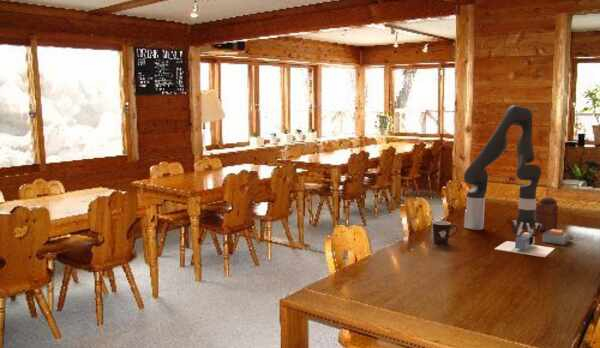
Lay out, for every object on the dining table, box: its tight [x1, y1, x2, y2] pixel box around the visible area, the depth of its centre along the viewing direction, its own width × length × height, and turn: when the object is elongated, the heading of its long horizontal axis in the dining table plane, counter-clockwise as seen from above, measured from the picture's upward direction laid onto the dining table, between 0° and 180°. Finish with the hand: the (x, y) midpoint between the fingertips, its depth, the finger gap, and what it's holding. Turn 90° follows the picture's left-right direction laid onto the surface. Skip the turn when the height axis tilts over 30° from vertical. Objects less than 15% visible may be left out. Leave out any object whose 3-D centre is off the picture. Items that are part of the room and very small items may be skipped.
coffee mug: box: [431, 220, 459, 246], centre depth 264 cm, size 12×9×10 cm
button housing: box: [541, 230, 571, 246], centre depth 268 cm, size 10×10×4 cm
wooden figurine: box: [534, 196, 559, 232], centre depth 290 cm, size 12×6×18 cm, turn 54°
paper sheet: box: [494, 240, 556, 258], centre depth 254 cm, size 22×18×1 cm
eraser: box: [514, 231, 536, 250], centre depth 254 cm, size 4×15×4 cm, turn 142°
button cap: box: [550, 229, 564, 235], centre depth 268 cm, size 5×5×3 cm
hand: (524, 243), depth 254 cm, fingers closed on eraser, 4 cm apart
